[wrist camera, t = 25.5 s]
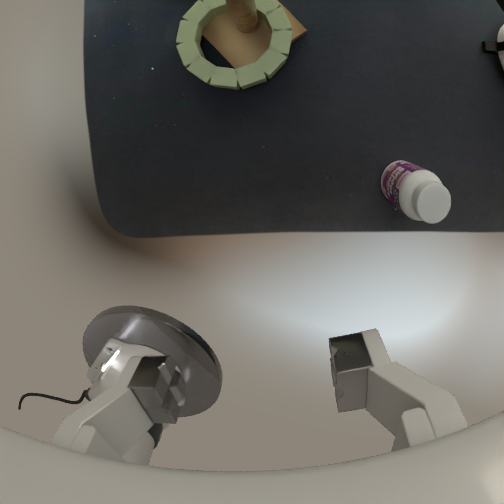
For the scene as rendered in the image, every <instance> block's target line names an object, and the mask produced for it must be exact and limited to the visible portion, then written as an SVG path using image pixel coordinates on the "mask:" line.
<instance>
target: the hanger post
mask: <svg viewBox="0 0 504 504" xmlns="http://www.w3.org/2000/svg"><path fill="white" fill-rule="evenodd" d="M225 1H226V4H227V6H228V8H229V10H230V11H228V12H225V13H223V14H220V15H217V16H215V17H214V18H213V19H212V20H211V21H210V22H209V23H208V25H207V26H206V27H205V28H204V29H203V33H202V35H203V36H204V37H205V38H206V39H207V40H208V41H209V42H210V43H211V44H212V45H213V47H214V48H215V49H216V50H217V51H218V52H219V53H220V54H221V55H222V56H223V57H224V58H225V59H226V60H227V61H228V62H229V63H230V64H231V65H232V66H233V68H234V69H237V68H240V67H243V66H246V65H248V64H251V63H254V62H256V61H257V60H258V59H259V58H260V57H261V56H262V55H263V54H264V53H265V52H266V51H267V50H268V49H269V46H270V41H271V36H272V34H271V31H270V29H269V27H268V25H267V23H266V21H265V20H263V19H262V18H260V17H258V15H257V10H256V5H255V0H225ZM275 1H276V2H278V1H277V0H275ZM278 3H279V2H278ZM279 4H280V8H281V7H283V8H284V11H285V13H286V15H287V17H288V19H289V21H290V23H291V26H292V31H293V34H292V39H291V43H292V42H294V41H295V40H297V39H299V38H300V37H302V36H303V35H305V34H306V31H307V30H306V29H305V28H304V27H303V26H302V25H301V24H300V23H299V22H298V20H297V19H296V18H295V17H294V16H293V15H292V14H291V13H290V12H289V11H288V10H287V9H286V8H285V7H284V6H283V5H282V4H281V3H279Z"/></svg>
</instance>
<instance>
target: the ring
mask: <svg viewBox="0 0 504 504" xmlns="http://www.w3.org/2000/svg"><path fill="white" fill-rule="evenodd" d="M203 1H204V2H202V1H201V0H198V1H197V2H196V3H195V4H194V5H193V6H192V7H191V8H190V9H189V10H188V12H187V13H186V14H185V15H184V16H183V18H184V19H185V20H186V21H185V20H181V21H180V25H179V30H178V34H177V39H176V43H177V44H179V45H177V46H176V47H177V50H178V52H179V55H180V57H181V59H182V62H183V64H184V66H185V67H187V70H188V71H190V72H191V73H193V74H194V75H195V76H197V77H198V78H200V79H201V80H203V81H204V82H205V83H207V84H209V85H212V86H214V87H220V88H228V89H236V90H239V88H240V87H241V88H242V89H246V88H248V87H251V86H254V85H257V84H260V83H263V82H266V81H267V80H266V77H268V78H269V79H271V77H272V76H273V75H274V74H275V73H276V72H277V71H278V70H279V69H280V68H281V67H282V66H283V65H284V64H285V63H286V59H288V55H289V50H290V45H291V39H292V34H293V31H292V26H291V23H290V21H289V19H288V17H287V15H286V13H285V11H284V8H283V7H281V8H280V4H279V3H278V2H276V1H275V0H255V5H256V10H257V15H258V17H260V18H262V19H263V20H265V21H266V23H267V25H268V27H269V29H270V31H271V34H272V36H271V41H270V46H269V49H268V50H267V51H266V52H265V53H264V54H263V55H262V56H261V57H260V58H259V59H258V60H257V61H256V62H254V63H251V64H248V65H246V66H243V67H240V68H237V69H234V68H225V67H216V66H215V65H213V64H212V63H210V62H209V61H208V60H206V59H205V56H204V54H203V51H202V49H201V47H200V42H201V37H202V33H203V29H204V28H205V27H206V26H207V25H208V23H209V22H210V21H211V20H212V19H213V18H214V17H215V16H217V15H220V14H223V13H225V12H228V11H230V10H229V8H228V6H227V4H226V1H225V0H203ZM265 76H266V77H265Z"/></svg>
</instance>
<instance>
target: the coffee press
mask: <svg viewBox="0 0 504 504" xmlns="http://www.w3.org/2000/svg"><path fill="white" fill-rule="evenodd" d="M496 1H497V2H498V4H499V5H500V7H501V8H502V10H503V11H504V0H496ZM482 46H483V52H485V53H490V54H496V55H499V58H500V62H501V65H502V67H503V70H504V25H503V26H502V27H501V28H500V30H499V33H498V38H497V42H485V41H484V42H482Z"/></svg>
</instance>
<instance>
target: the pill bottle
mask: <svg viewBox="0 0 504 504" xmlns="http://www.w3.org/2000/svg"><path fill="white" fill-rule="evenodd" d="M381 188H382V191H383V194H384V195H385V197H386V198H387V199H388V200H389V201H391V202H392V203H393V204H394V205H395V206H396V207H398V208H399V209H400V210H401V211H402V212H404V213H405V214H406V215H407V216H408V217H410V218H412V219H414V220H418V221H425V222H427V223H437V222H440V221H441V220H443V219H444V218H445V217H446V215H447V214H448V212H449V210H450V206H451V197H450V194H449V191H448V190H447V189H446V187H444V186H443V185H442V183H441V181H440V179H439V178H438V177H437V176H436V175H435V174H434V173H432V172H430V171H428V170H426V169H424V168H421V167H419V166H417V165H414V164H412V163H409V162H406V161H395V162H393V163H391V164H390V165H388V166H387V167H386V169H385V170H384V172H383V174H382V177H381Z"/></svg>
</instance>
